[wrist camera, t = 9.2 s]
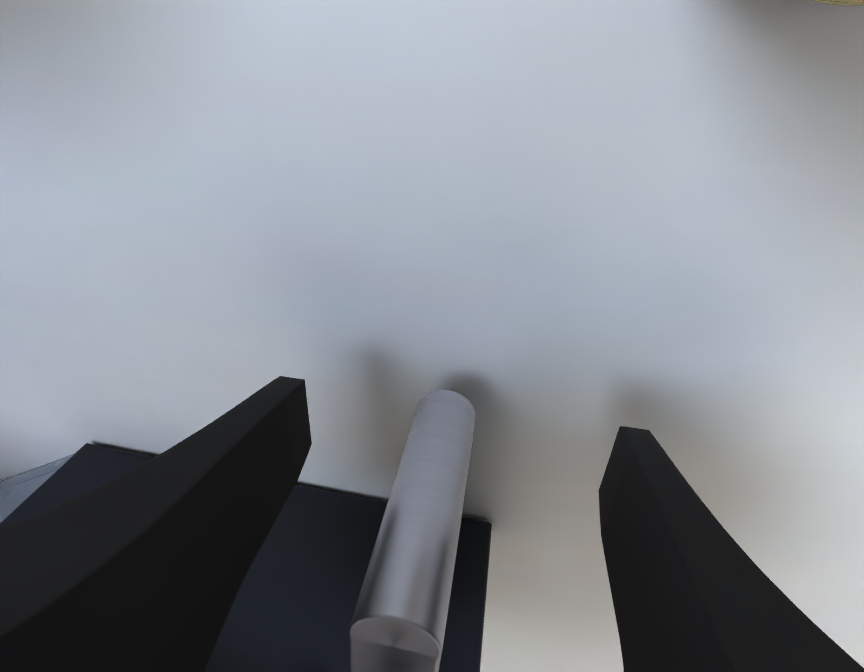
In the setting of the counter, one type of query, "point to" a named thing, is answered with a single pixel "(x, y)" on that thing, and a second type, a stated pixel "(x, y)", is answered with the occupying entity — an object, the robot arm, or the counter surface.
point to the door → (349, 562)
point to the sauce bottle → (843, 2)
